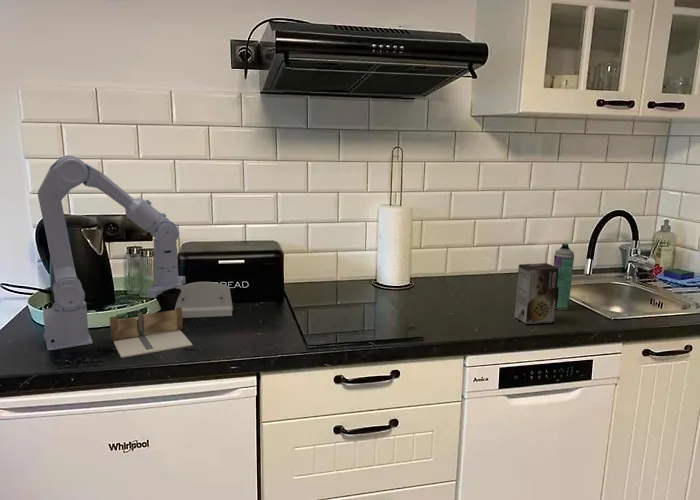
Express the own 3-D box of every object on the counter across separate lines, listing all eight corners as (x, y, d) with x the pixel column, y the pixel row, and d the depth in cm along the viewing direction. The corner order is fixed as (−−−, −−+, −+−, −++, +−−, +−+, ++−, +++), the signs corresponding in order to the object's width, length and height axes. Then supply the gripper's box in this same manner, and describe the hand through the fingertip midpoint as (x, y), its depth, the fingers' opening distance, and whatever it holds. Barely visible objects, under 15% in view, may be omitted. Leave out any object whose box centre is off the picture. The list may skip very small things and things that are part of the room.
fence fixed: (111, 341, 133) (110, 319, 132) (110, 339, 134) (109, 317, 133) (138, 337, 136) (136, 315, 135) (136, 335, 138) (135, 313, 136)
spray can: (564, 305, 172) (571, 242, 168) (571, 311, 167) (578, 246, 163) (546, 305, 172) (553, 242, 168) (552, 310, 167) (559, 245, 163)
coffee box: (541, 316, 161) (546, 262, 158) (554, 324, 155) (560, 267, 152) (513, 318, 159) (518, 263, 156) (525, 325, 153) (530, 269, 149)
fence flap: (139, 336, 136) (138, 314, 135) (138, 334, 138) (136, 312, 136) (183, 329, 142) (182, 308, 141) (181, 327, 143) (181, 306, 142)
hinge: (170, 318, 152) (170, 282, 153) (172, 318, 156) (172, 283, 158) (233, 315, 155) (232, 280, 157) (233, 316, 160) (232, 281, 161)
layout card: (121, 357, 124) (121, 356, 124) (111, 338, 136) (111, 336, 136) (192, 345, 133) (192, 344, 132) (177, 328, 144) (177, 326, 144)
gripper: (164, 274, 133) (166, 327, 136) (194, 261, 147) (196, 310, 149) (138, 271, 135) (141, 324, 137) (170, 259, 148) (173, 307, 151)
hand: (168, 317), depth 144 cm, fingers closed
